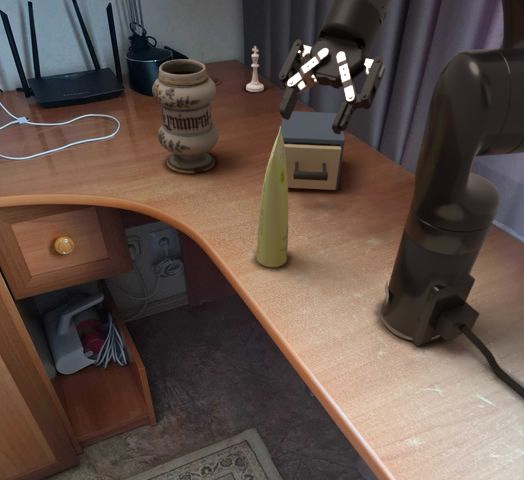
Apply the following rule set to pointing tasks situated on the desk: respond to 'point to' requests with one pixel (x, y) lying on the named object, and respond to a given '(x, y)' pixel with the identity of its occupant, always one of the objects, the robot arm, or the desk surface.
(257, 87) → the chess piece
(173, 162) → the apothecary jar
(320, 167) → the drawer
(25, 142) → the desk surface
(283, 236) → the tube
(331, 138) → the mini filing cabinet
